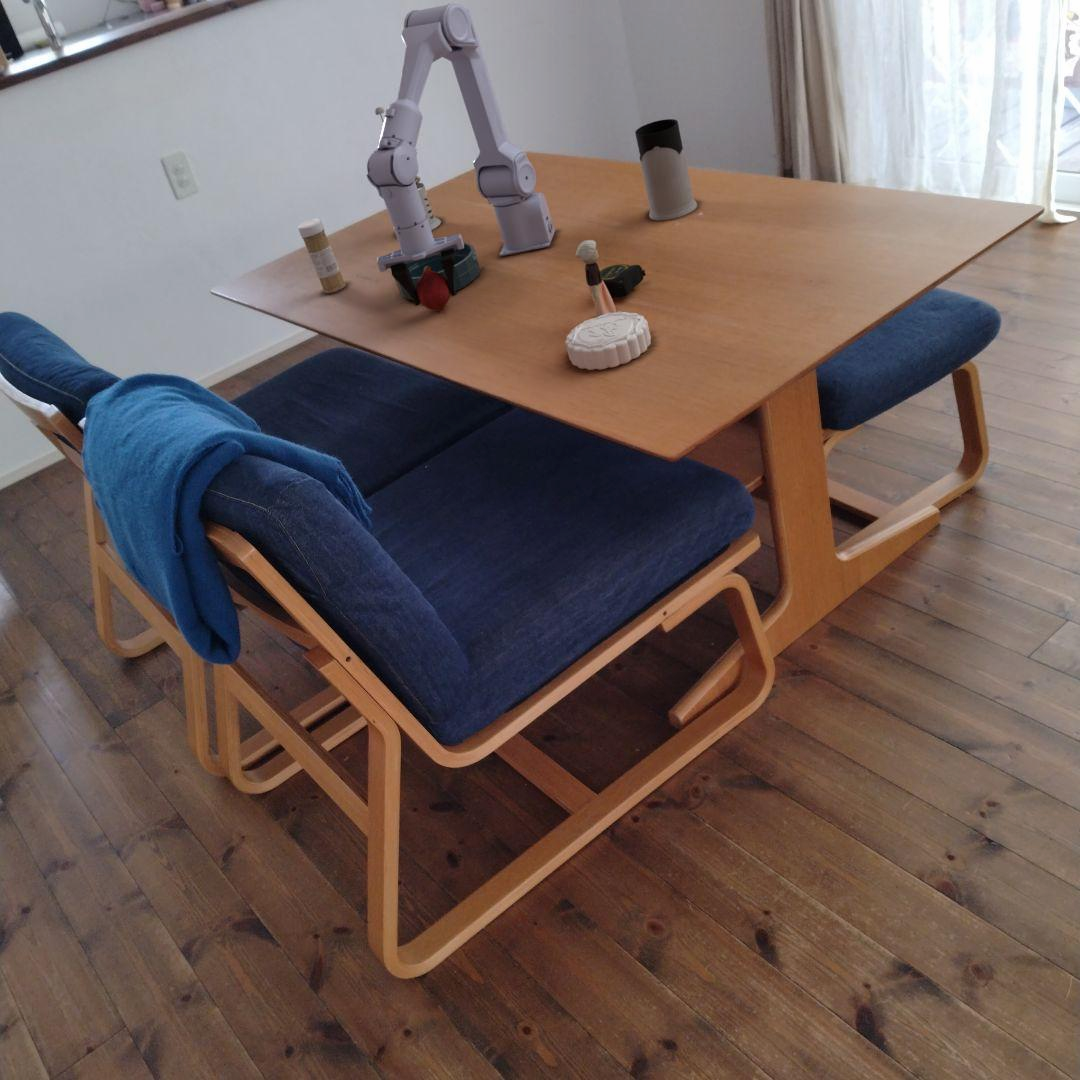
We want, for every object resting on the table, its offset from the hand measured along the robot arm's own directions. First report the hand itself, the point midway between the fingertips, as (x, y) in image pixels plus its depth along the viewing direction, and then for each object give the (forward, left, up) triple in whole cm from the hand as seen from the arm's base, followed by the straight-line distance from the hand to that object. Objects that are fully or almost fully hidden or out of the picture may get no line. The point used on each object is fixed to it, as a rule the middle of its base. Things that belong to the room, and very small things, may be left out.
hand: (435, 298), depth 187 cm
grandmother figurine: (-31, +16, -2) cm, 35 cm away
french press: (+17, -48, -2) cm, 51 cm away
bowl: (+3, -13, -2) cm, 14 cm away
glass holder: (-39, -29, -2) cm, 49 cm away
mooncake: (-33, +27, -2) cm, 43 cm away
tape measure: (-33, +7, -2) cm, 34 cm away
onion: (0, 0, -2) cm, 2 cm away
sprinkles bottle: (+27, -21, -2) cm, 34 cm away
